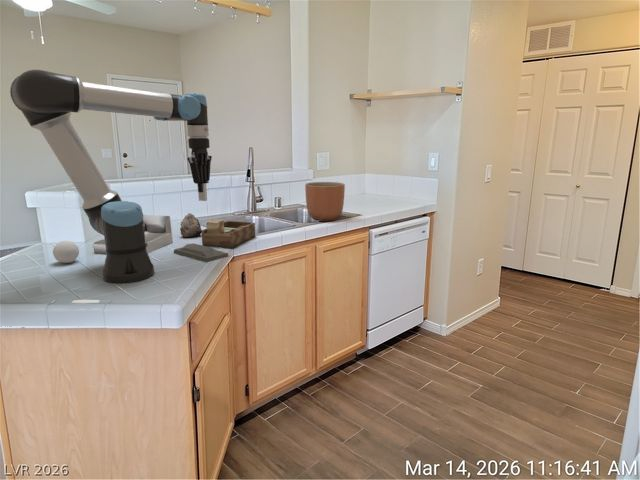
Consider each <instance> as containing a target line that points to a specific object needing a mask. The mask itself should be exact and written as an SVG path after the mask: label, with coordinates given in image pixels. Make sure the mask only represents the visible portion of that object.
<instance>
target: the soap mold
mask: <svg viewBox="0 0 640 480" xmlns="http://www.w3.org/2000/svg"><path fill="white" fill-rule="evenodd" d="M173 254H175V255H179V256H182V257H185V258H189V259H193V260H197V261H200V262H202V263H209V262H213V261H216V260H220V259H224V258H227V257H229V254H228V252H225V251H221V250H217V249H215V248H214V247H209V246H202V244H197V243H193V242H192V243H186V244H185V245H184V246H182V247H178V248H174V249H173Z"/></svg>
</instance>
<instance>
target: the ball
mask: <svg viewBox="0 0 640 480" xmlns="http://www.w3.org/2000/svg"><path fill="white" fill-rule="evenodd" d="M52 255H53V257H54V259H55V260H56V261H57V262H58V263H59V262H60V263H61V264H70V263H72V262H75V261H76V260H77V259H78V257H79V255H80V249H79V246H78V245H77V244H76V243H75V242H73V241H71V240H62V241H59V242H58V243H56V244H55V245H54V246H53V249H52Z"/></svg>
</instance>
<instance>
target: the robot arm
mask: <svg viewBox="0 0 640 480" xmlns="http://www.w3.org/2000/svg"><path fill="white" fill-rule="evenodd" d="M9 90H10V91H9V93H10V98H11V100H12V103H13V104H14V106H15V107H16V108H17V109H18V110H20V111H21V113H22V115H23V116H24V118H25V119H26V121H27V122H28V124H29V125H30V127H31V128H33V129H36V130H38V131H40V133H41V134H42V136H43V137H44V139H45V140H46V143H47V144H48V145H49V147H50V149H51V151H52V152H53V153H54V155H55V156H56V158H57V160H58V161H59V163H60V165H61V166H62V168H63V170H64V171H65V173H66V174H67V176H68V177H69V179H70V181H71V182H72V184H73V186H74V187H75V189H76V191H78V193H79V195H80V197H81V199H82V201H83V203H82V207H81V209H82V210H83V211H84V213H85V215H86V216H87V218H88V221H89V224H90V226H91V227H92V229H93V230H94V231H96V232H97V234H98V233H99V234H100V235H102V236H103V237H104V239H105V246H106V253H107V254H105V256H106V257H105V261H104V268H103V270H102V279H103V280H104V281H105V282H108V283H113V284H126V283H133V282H138V281H141V280H146V279H148V278H150V277H152V276H153V275H154V274H155V266H154V264H153V263H152V261H151V258H150V255H149V253H147V251H146V243H145V232H144V222H143V215H144V213H143V208H142V206H141V205H140V204H139V203H137V202H134V201H126V200H122V198H121V197H120V195H119V193H118V192H117V191H116V190H112V189H110V187H109V185H108V184H107V182H106V180H105V179H104V177H103V175H102V174H101V172H100V171H99V168H98V167H97V165H96V163H95V161H94V160H93V158H92V156H91V154H90V153H89V151H88V149H87V147H86V146H85V145H84V143H83V141H82V139H81V138H80V136H79V134H78V132H77V130H76V129H75V127H74V126H73V124H72V122H71V120H70V118H71V115H72V113H80V112H81V111H84V110H85V111H95V112H105V113H115V114H124V115H125V114H126V115H127V114H128V115H135V116H145V117H153V118H154V120H156V121H163V122H165V121H166V122H167V121H174V122H175V121H182V122H186V128H187V129H186V130H187V137H189V138H188V139H187V144H188V148H189V149H191V152H190V153H191V155H190V157H189V156H188V157H187V161H188V164H189V167H190V172H191V176H192V180H193V183H194V184H195V185H197V192H198V193H197V194H198V195H197V196H198V201H201V202H206V201H208V192H207V184H209V182H210V179H211V178H210V177H211V163H212V159H213V158H212V155H210V154H208V153H209V151H208V149H209V148H210V138H209V135H210V134H209V129H210V128H209V119H208V102H207V97H206V95H205V94H203V93H197V92H196V93H193V92H192V93H191V92H190V93H185V94H183V95H179V94H173V93H166V92H159V91H152V90H144V89H137V88H130V87H123V86H116V85H110V84H109V85H107V84H101V83H95V82H94V83H93V82H89V81H88V82H87V81H82V80H80V79H79V77H77V76H73V75H72V76H71V75H67V74H66V75H65V74H62V73H56V72H52V71H47V70H44V69H43V70H42V69H30V70H29V69H28V70H26V71H24V72H22V73H21V74H20V75H18V76H16V78H14V80H13V81H12V83H11V85H10V89H9Z"/></svg>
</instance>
